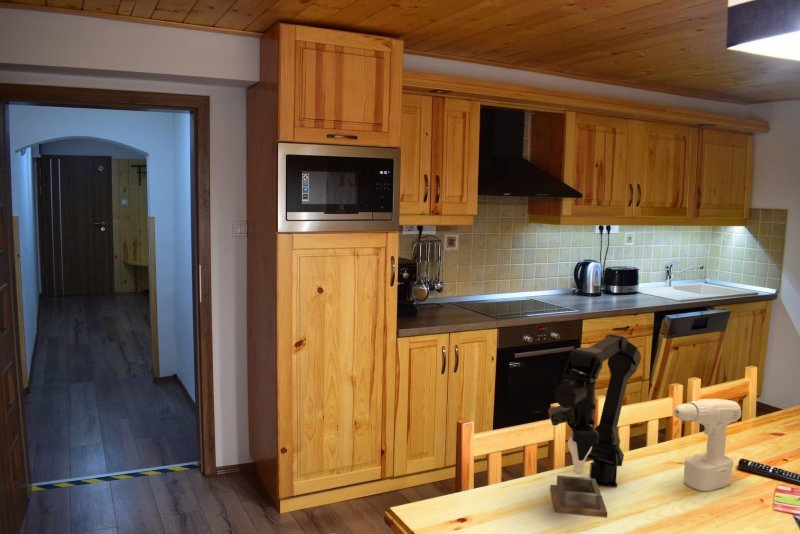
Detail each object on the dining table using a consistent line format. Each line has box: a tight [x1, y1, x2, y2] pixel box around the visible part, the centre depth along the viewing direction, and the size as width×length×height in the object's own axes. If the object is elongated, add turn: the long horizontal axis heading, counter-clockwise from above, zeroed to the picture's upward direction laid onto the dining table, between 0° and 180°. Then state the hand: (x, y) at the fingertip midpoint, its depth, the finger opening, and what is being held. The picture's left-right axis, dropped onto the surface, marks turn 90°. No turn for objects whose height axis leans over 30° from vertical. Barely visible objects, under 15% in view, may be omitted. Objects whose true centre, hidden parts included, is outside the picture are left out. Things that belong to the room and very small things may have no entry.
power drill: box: [673, 398, 742, 492], centre depth 180 cm, size 8×24×25 cm, turn 116°
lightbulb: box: [567, 436, 592, 475], centre depth 168 cm, size 6×6×11 cm
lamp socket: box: [549, 474, 608, 518], centre depth 169 cm, size 13×13×5 cm
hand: (579, 455), depth 168 cm, fingers closed on lightbulb, 6 cm apart
